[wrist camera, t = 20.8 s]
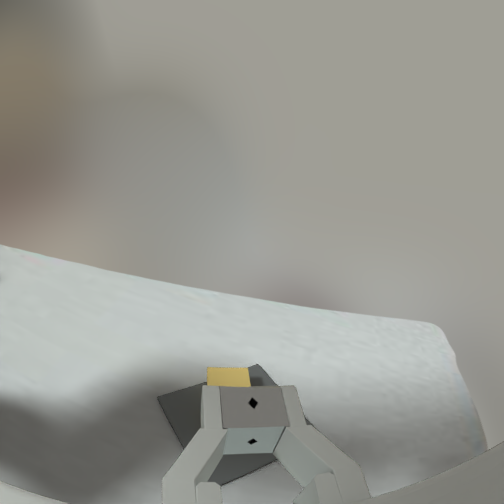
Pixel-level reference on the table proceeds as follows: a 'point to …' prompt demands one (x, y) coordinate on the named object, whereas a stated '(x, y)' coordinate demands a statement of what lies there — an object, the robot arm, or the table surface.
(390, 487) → the table surface
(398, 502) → the robot arm
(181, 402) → the mat
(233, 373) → the box
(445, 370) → the table surface
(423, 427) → the table surface
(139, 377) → the table surface
